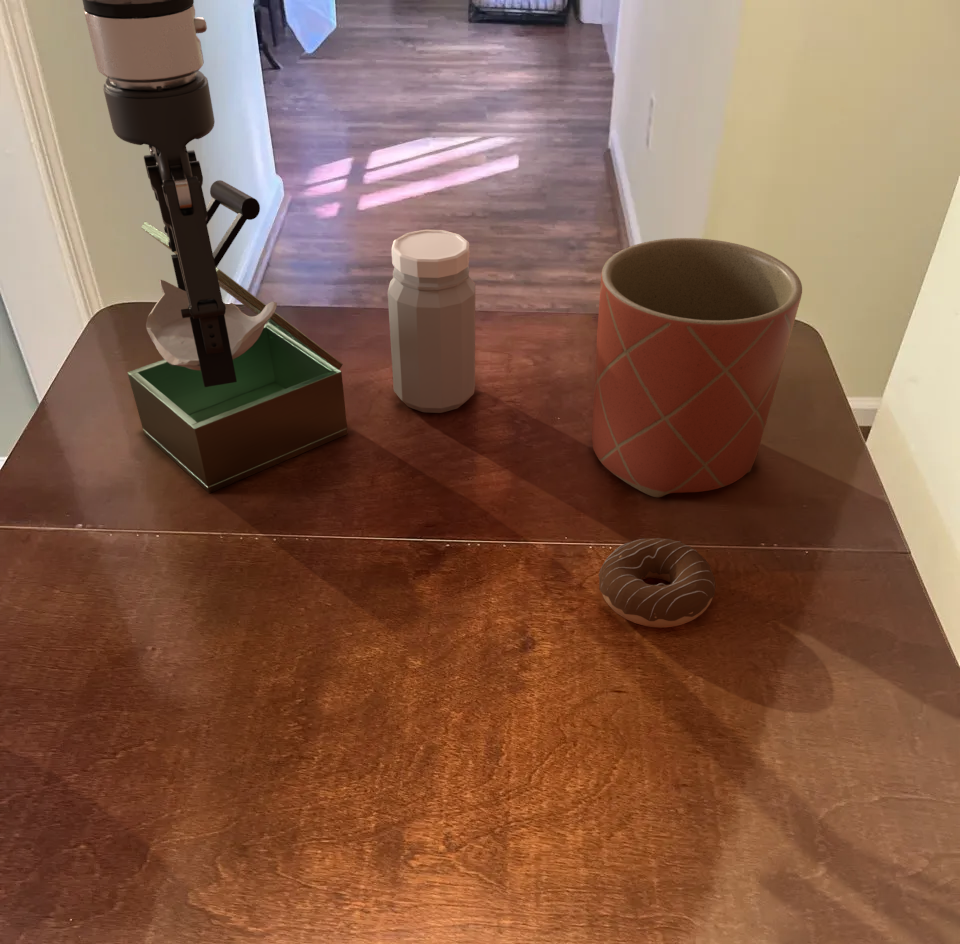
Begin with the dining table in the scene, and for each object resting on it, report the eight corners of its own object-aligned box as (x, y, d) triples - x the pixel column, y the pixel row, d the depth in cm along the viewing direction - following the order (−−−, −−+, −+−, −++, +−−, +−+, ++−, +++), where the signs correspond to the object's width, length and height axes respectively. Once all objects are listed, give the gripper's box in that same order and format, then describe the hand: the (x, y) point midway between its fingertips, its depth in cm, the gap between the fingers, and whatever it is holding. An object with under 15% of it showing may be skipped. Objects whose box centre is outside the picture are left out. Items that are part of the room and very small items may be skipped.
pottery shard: (152, 334, 90) (140, 281, 87) (274, 321, 92) (267, 269, 89) (156, 390, 83) (143, 335, 80) (289, 374, 85) (281, 320, 82)
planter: (641, 524, 99) (669, 340, 85) (554, 429, 111) (566, 255, 98) (795, 479, 105) (845, 300, 91) (697, 394, 117) (727, 225, 103)
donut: (720, 638, 87) (728, 605, 84) (601, 636, 87) (605, 603, 85) (703, 561, 95) (710, 528, 92) (593, 559, 95) (597, 526, 92)
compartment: (209, 493, 102) (194, 428, 97) (144, 434, 110) (127, 371, 105) (348, 434, 111) (341, 371, 105) (278, 383, 118) (268, 322, 113)
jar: (377, 393, 117) (365, 242, 104) (439, 366, 122) (435, 218, 109) (430, 426, 112) (424, 272, 99) (492, 396, 117) (495, 245, 104)
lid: (214, 276, 90) (264, 198, 89) (140, 227, 97) (185, 155, 96) (339, 370, 105) (382, 304, 104) (266, 321, 113) (306, 260, 112)
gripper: (230, 116, 65) (277, 409, 80) (185, 32, 81) (231, 291, 96) (113, 128, 63) (184, 425, 79) (90, 39, 79) (153, 302, 94)
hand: (210, 352), depth 87 cm, fingers closed on pottery shard, 10 cm apart
